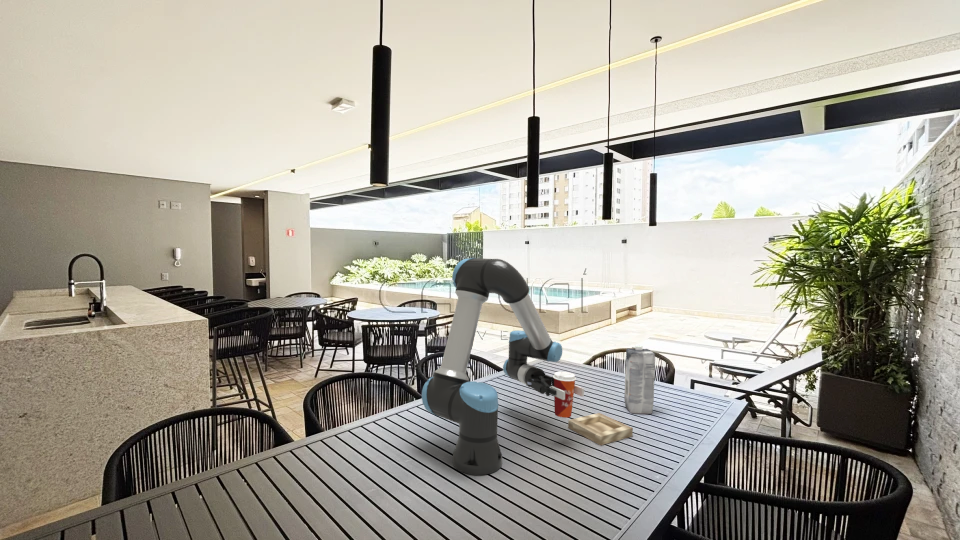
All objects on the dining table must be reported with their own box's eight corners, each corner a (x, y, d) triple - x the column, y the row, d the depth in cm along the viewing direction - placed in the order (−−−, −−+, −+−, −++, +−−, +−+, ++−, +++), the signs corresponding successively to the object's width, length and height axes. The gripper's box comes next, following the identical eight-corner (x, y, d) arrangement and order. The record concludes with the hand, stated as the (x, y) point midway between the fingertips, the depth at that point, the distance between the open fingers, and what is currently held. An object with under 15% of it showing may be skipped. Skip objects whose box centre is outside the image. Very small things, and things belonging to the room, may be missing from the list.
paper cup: (568, 420, 135) (570, 378, 135) (547, 414, 140) (549, 374, 140) (578, 414, 142) (580, 374, 141) (557, 408, 146) (559, 369, 146)
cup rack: (600, 445, 139) (600, 436, 139) (568, 427, 153) (568, 420, 153) (632, 436, 147) (632, 428, 147) (599, 420, 161) (599, 412, 161)
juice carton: (655, 415, 168) (657, 349, 167) (629, 414, 168) (631, 349, 167) (646, 407, 177) (649, 345, 176) (622, 406, 177) (624, 344, 176)
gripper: (552, 383, 161) (595, 401, 142) (509, 389, 151) (549, 409, 131) (553, 364, 161) (596, 379, 141) (510, 369, 151) (550, 386, 131)
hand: (573, 394), depth 136 cm, fingers closed on paper cup, 8 cm apart
